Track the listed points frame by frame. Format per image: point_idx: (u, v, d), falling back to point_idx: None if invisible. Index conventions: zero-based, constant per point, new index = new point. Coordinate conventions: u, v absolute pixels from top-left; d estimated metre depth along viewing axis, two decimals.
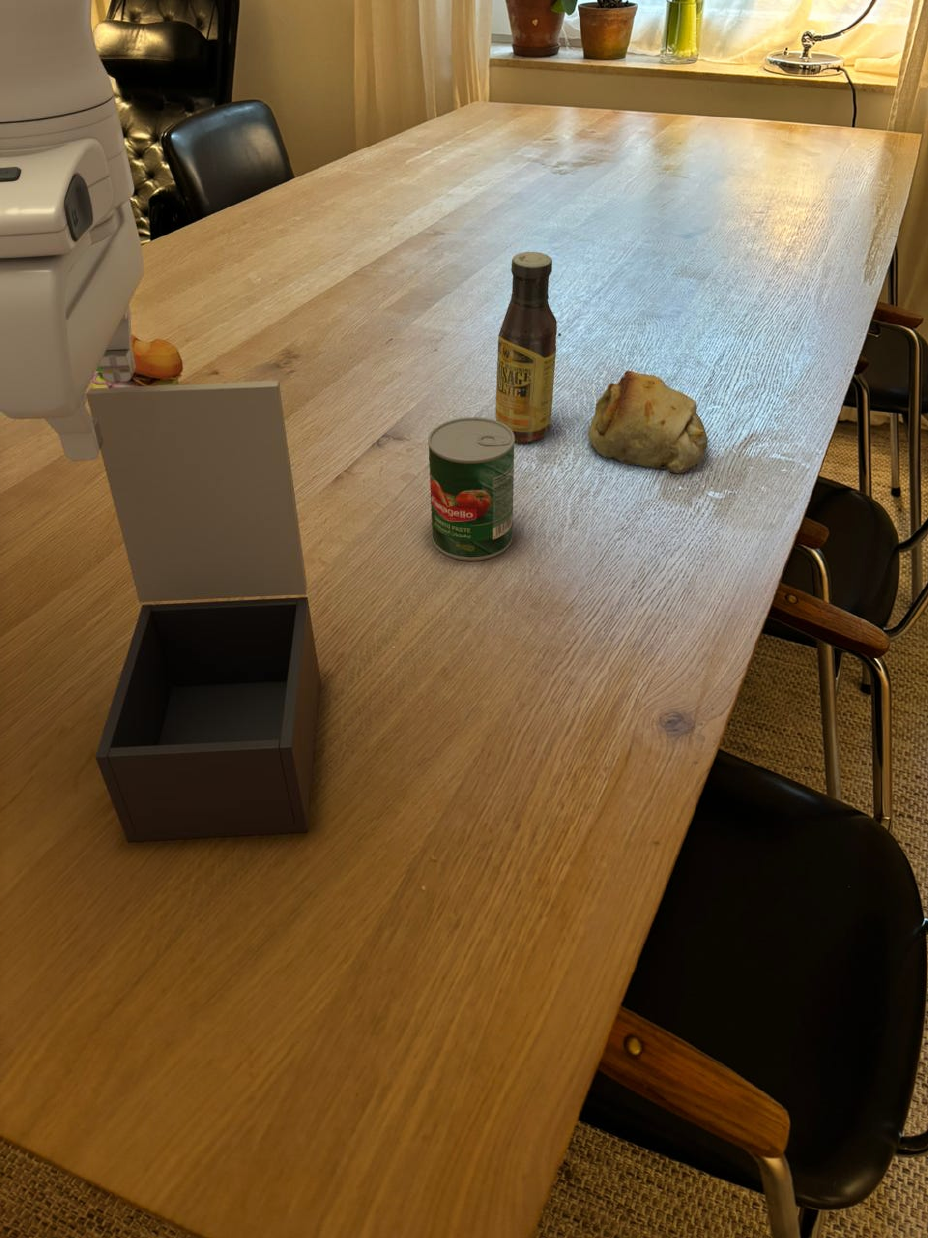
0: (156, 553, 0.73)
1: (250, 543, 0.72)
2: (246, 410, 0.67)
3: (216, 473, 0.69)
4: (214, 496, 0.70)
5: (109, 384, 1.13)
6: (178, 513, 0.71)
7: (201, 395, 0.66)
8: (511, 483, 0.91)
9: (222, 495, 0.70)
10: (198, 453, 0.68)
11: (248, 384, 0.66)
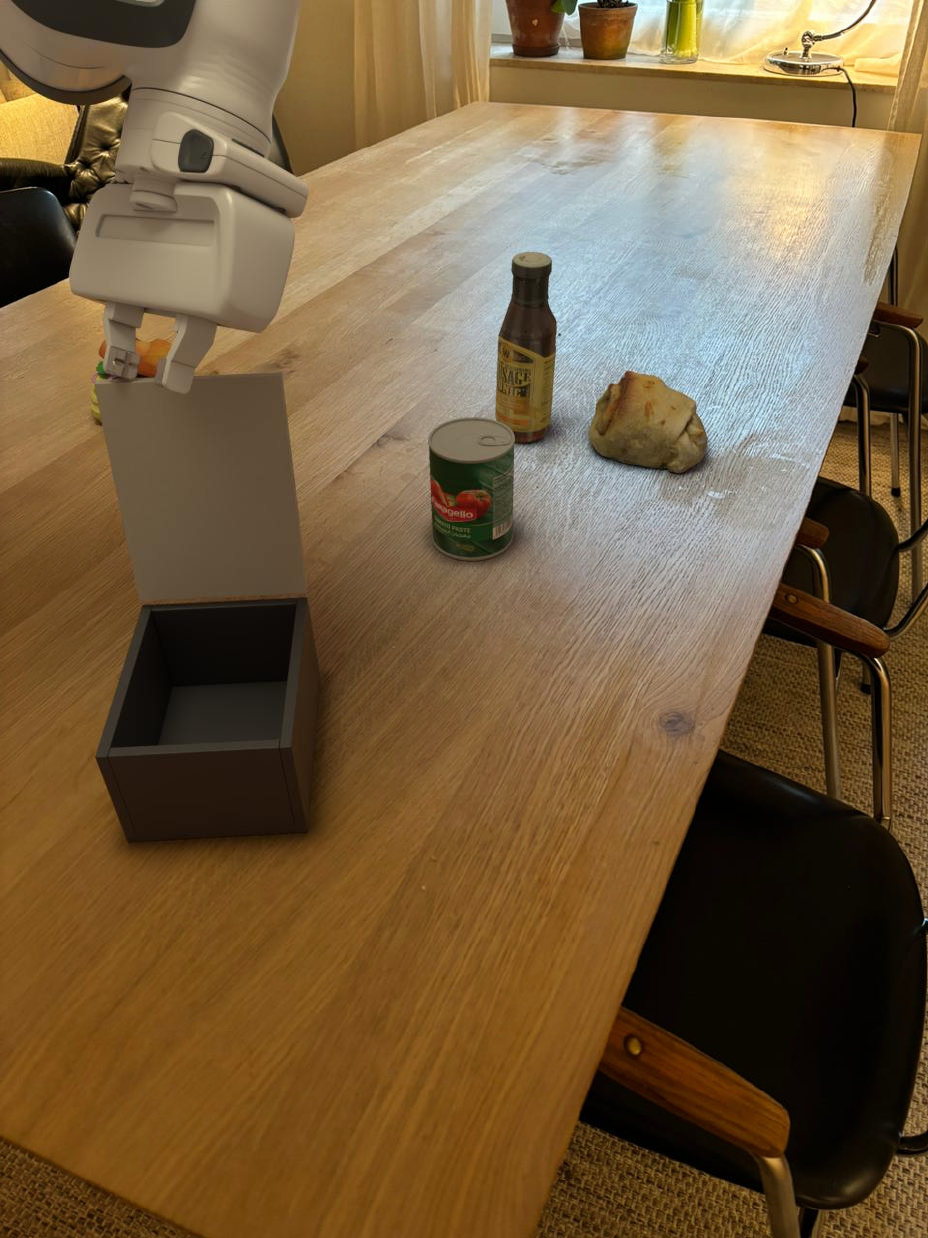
0: (157, 549, 0.73)
1: (251, 538, 0.73)
2: (249, 400, 0.68)
3: (219, 466, 0.70)
4: (217, 489, 0.71)
5: None
6: (180, 508, 0.71)
7: (206, 385, 0.67)
8: (511, 483, 0.91)
9: (224, 488, 0.71)
10: (202, 444, 0.69)
11: (252, 375, 0.68)
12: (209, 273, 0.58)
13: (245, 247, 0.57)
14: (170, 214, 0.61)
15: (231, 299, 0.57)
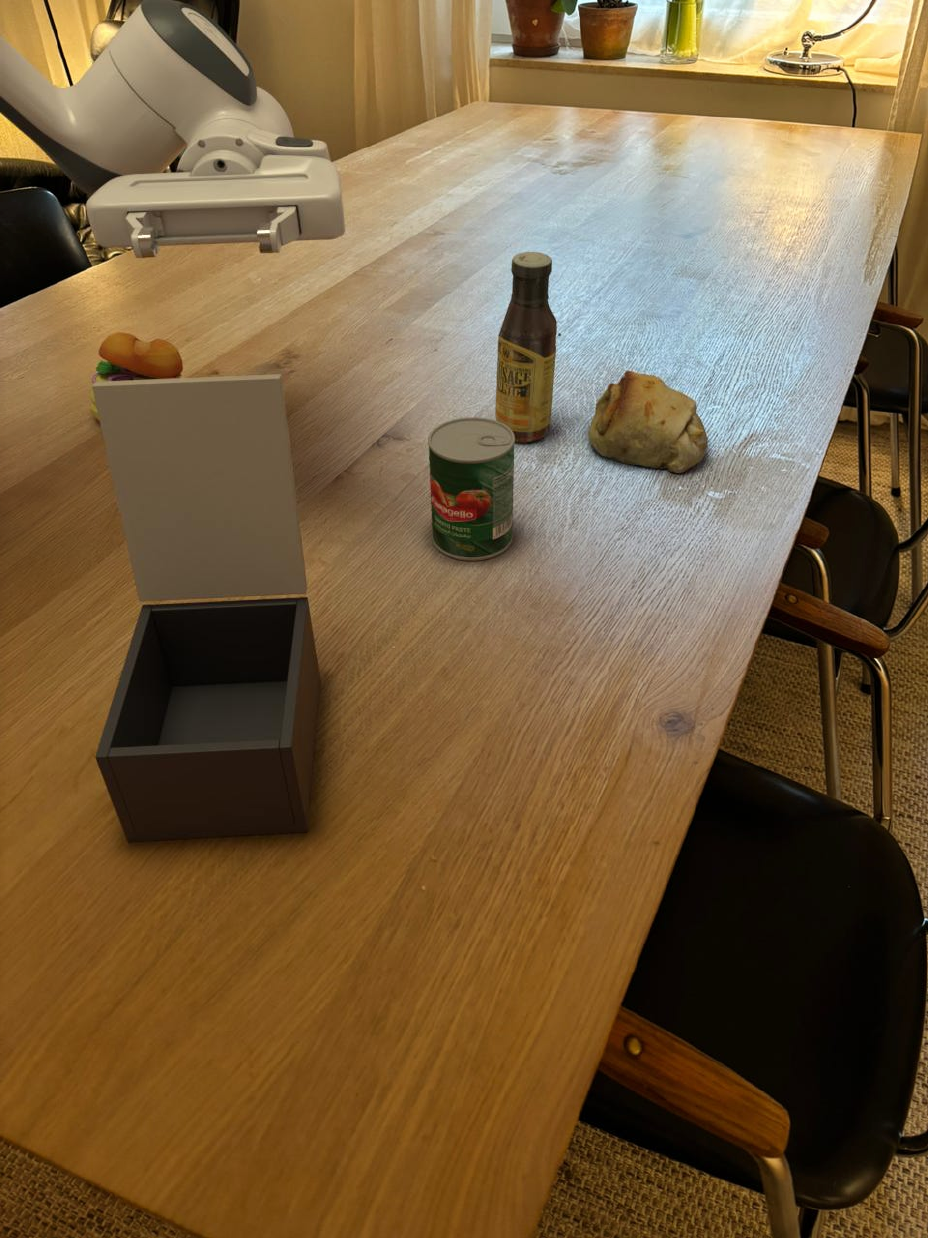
0: (157, 550, 0.73)
1: (251, 539, 0.73)
2: (249, 402, 0.68)
3: (218, 467, 0.70)
4: (216, 491, 0.71)
5: None
6: (179, 509, 0.71)
7: (205, 387, 0.67)
8: (511, 483, 0.91)
9: (224, 490, 0.71)
10: (201, 446, 0.69)
11: (251, 377, 0.67)
12: (312, 185, 0.79)
13: None
14: (245, 174, 0.81)
15: (340, 193, 0.78)
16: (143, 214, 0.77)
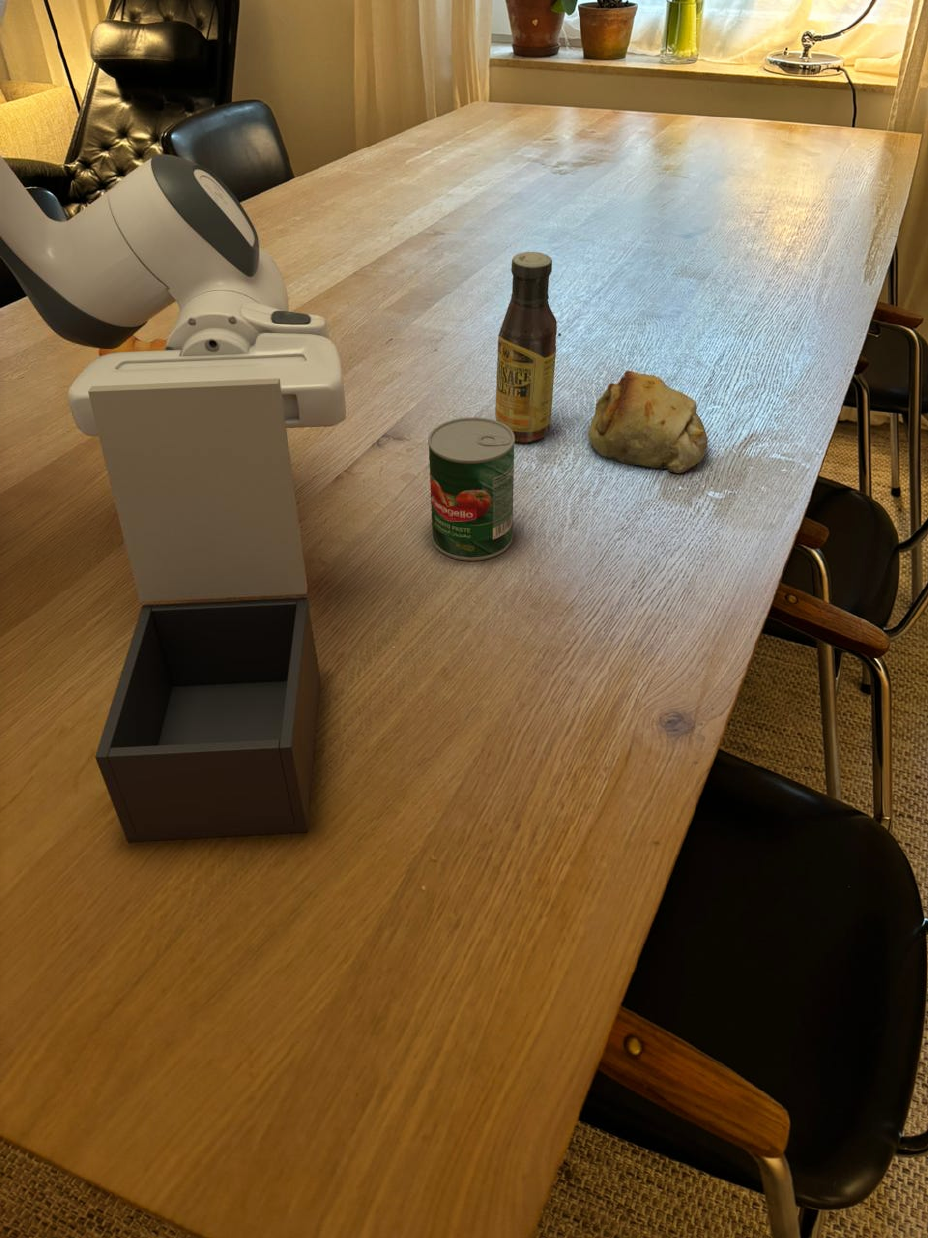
0: (156, 552, 0.73)
1: (251, 541, 0.73)
2: (247, 407, 0.67)
3: (217, 471, 0.69)
4: (215, 494, 0.70)
5: None
6: (178, 512, 0.71)
7: (202, 392, 0.66)
8: (511, 483, 0.91)
9: (222, 493, 0.70)
10: (199, 450, 0.68)
11: (249, 381, 0.66)
12: (311, 370, 0.74)
13: None
14: (239, 354, 0.76)
15: (342, 380, 0.73)
16: None
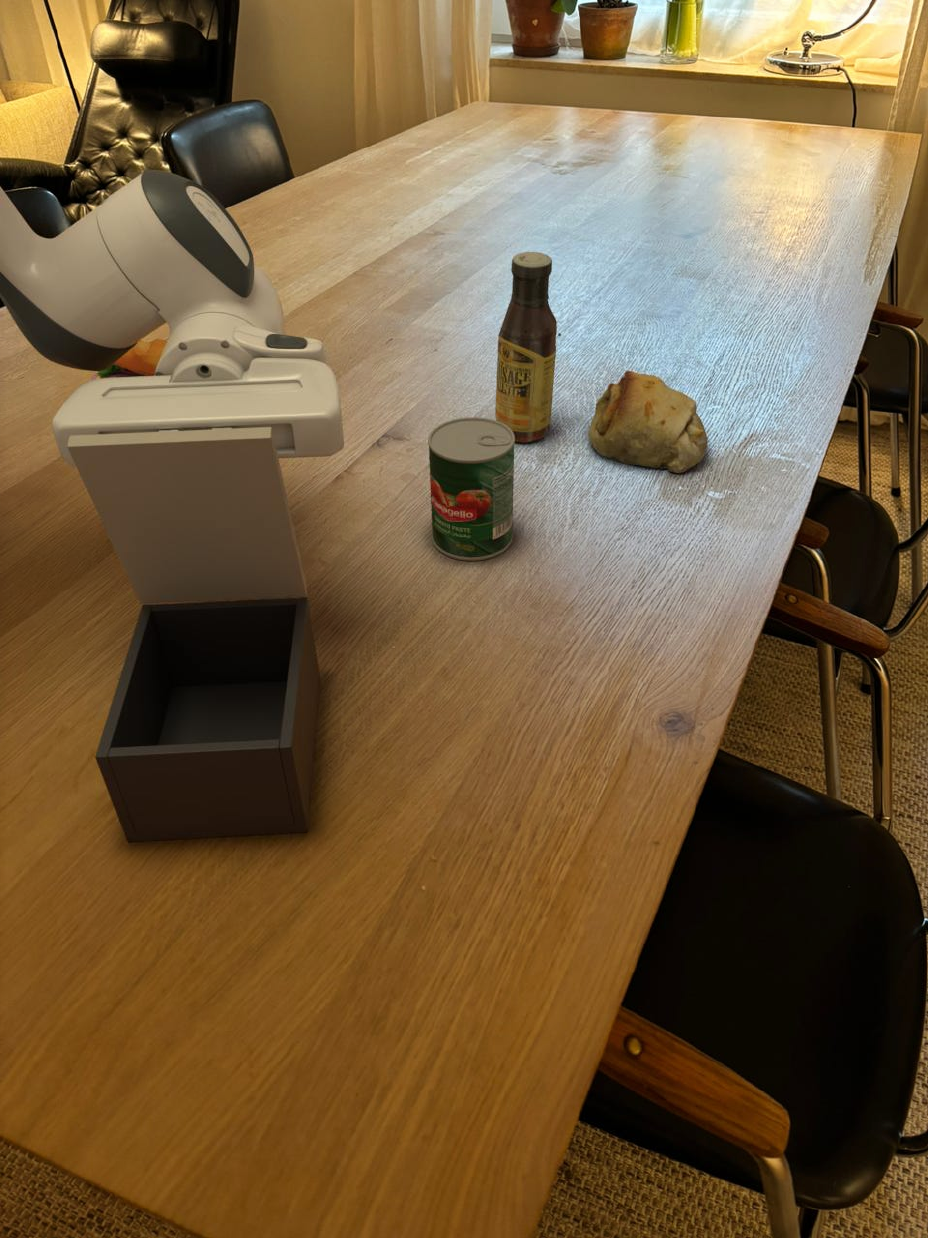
0: (153, 568, 0.72)
1: (249, 559, 0.71)
2: (238, 458, 0.63)
3: (210, 507, 0.67)
4: (209, 525, 0.68)
5: None
6: (173, 538, 0.69)
7: (190, 446, 0.62)
8: (511, 483, 0.91)
9: (217, 524, 0.68)
10: (190, 492, 0.65)
11: (239, 433, 0.62)
12: (307, 397, 0.71)
13: None
14: (231, 380, 0.73)
15: (339, 409, 0.70)
16: None
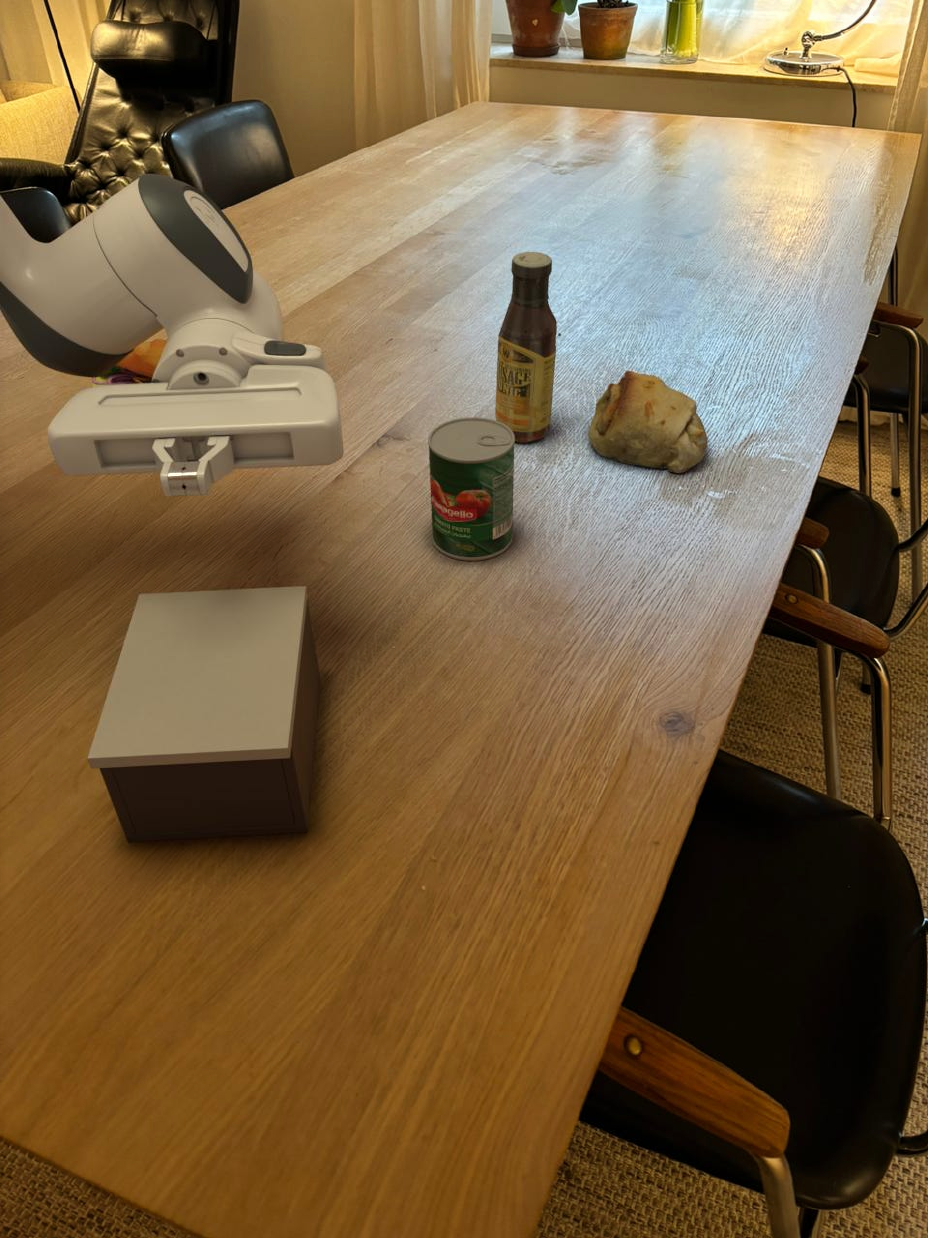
0: None
1: None
2: None
3: None
4: None
5: (109, 384, 1.13)
6: None
7: None
8: (511, 483, 0.91)
9: None
10: None
11: (257, 755, 0.63)
12: (306, 405, 0.69)
13: None
14: (229, 388, 0.72)
15: (339, 417, 0.69)
16: (172, 442, 0.67)
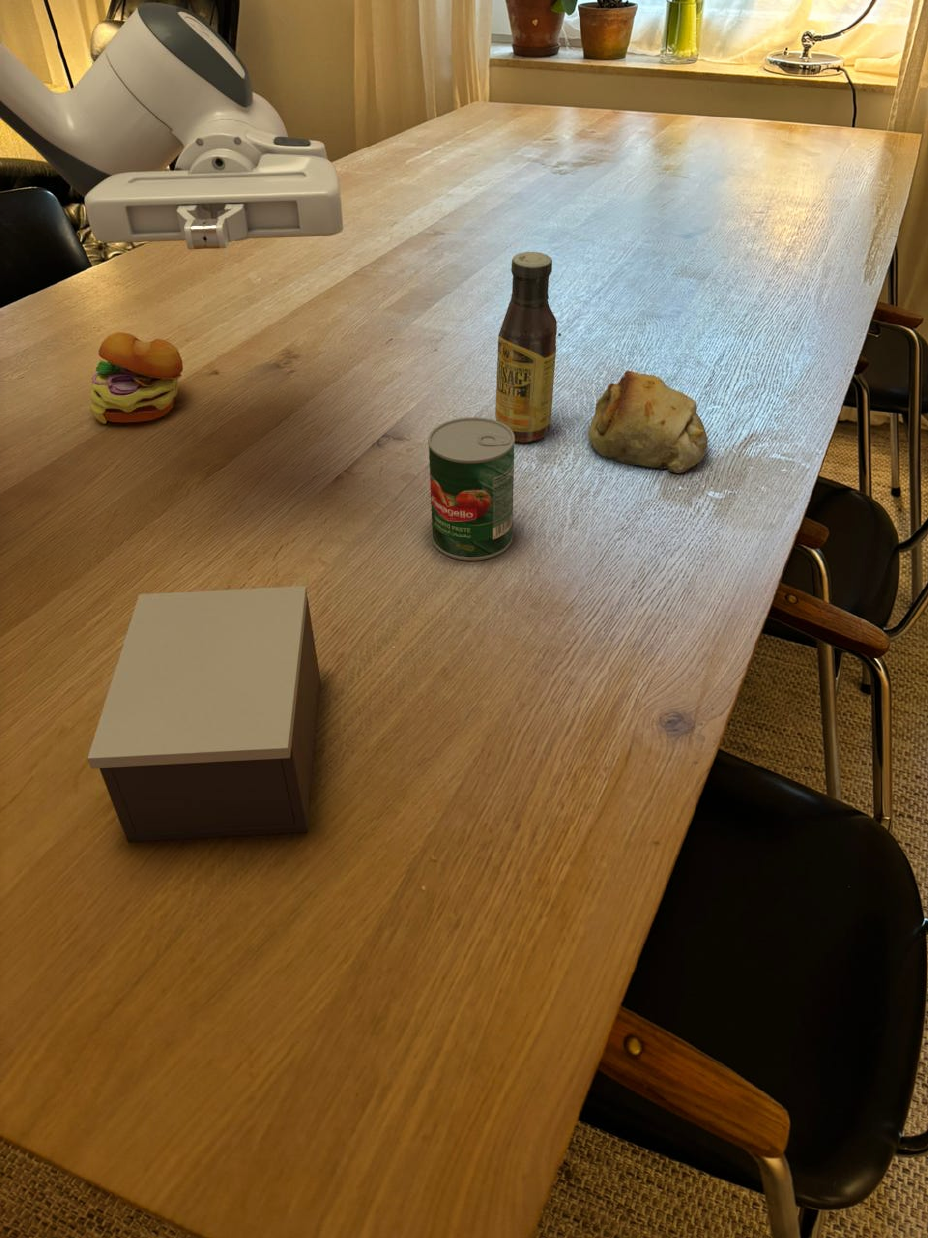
0: None
1: None
2: None
3: None
4: None
5: (109, 384, 1.13)
6: None
7: None
8: (511, 483, 0.91)
9: None
10: None
11: (257, 755, 0.63)
12: (311, 182, 0.79)
13: None
14: (243, 172, 0.82)
15: (339, 190, 0.79)
16: (194, 207, 0.77)
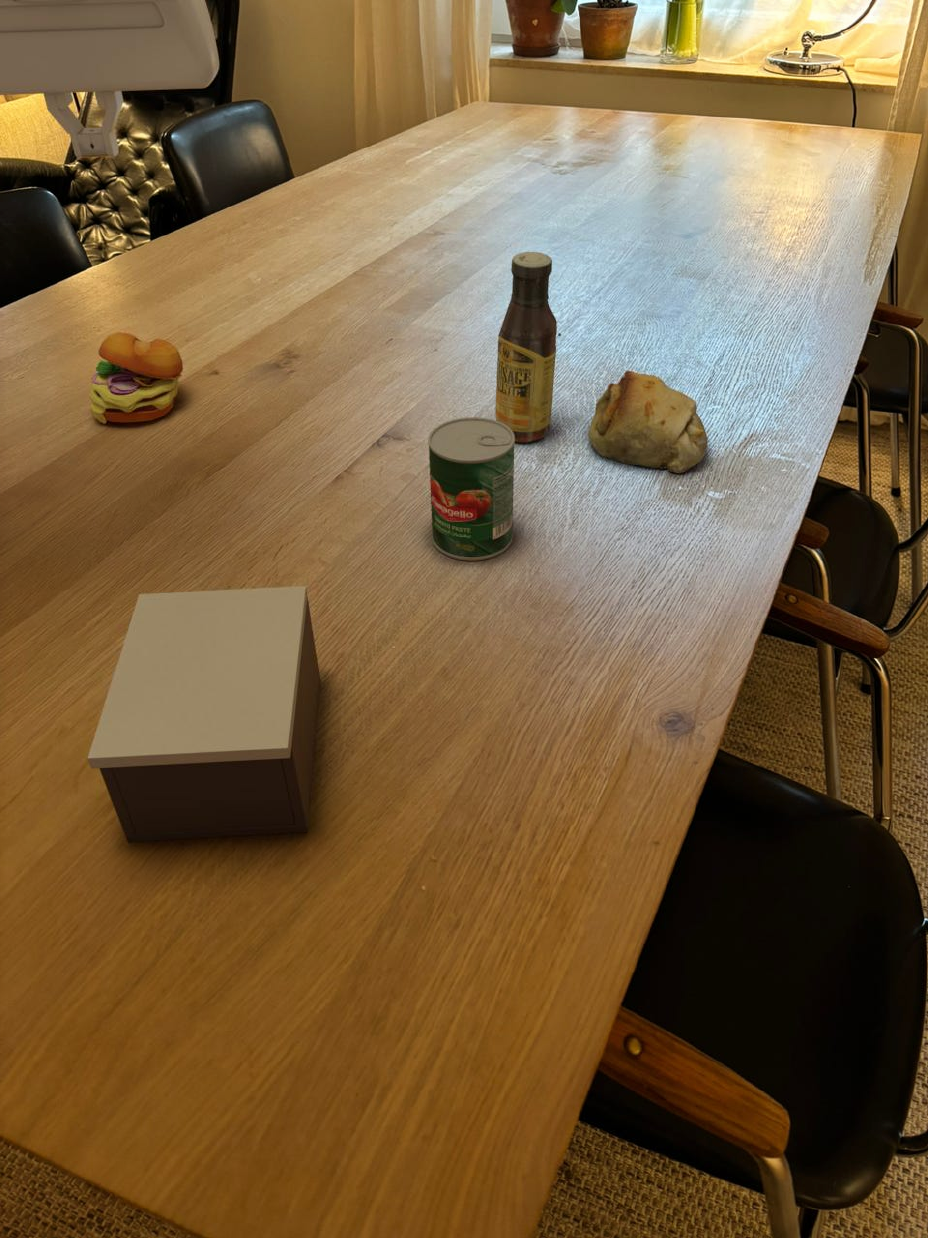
0: None
1: None
2: None
3: None
4: None
5: (109, 384, 1.13)
6: None
7: None
8: (511, 483, 0.91)
9: None
10: None
11: (257, 755, 0.63)
12: (176, 51, 0.70)
13: (202, 20, 0.69)
14: (82, 0, 0.68)
15: (213, 69, 0.71)
16: (62, 99, 0.72)
